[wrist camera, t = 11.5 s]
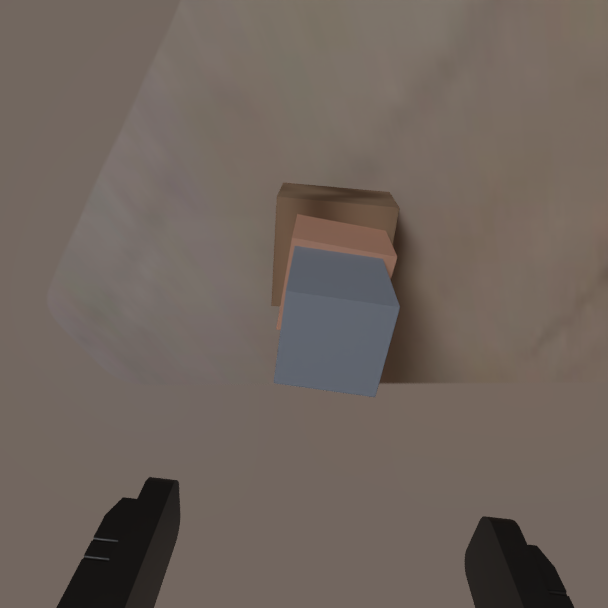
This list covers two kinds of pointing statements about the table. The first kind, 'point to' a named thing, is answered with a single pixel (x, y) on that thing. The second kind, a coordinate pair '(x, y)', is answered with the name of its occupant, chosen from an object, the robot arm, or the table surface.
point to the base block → (326, 217)
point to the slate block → (336, 322)
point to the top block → (338, 243)
